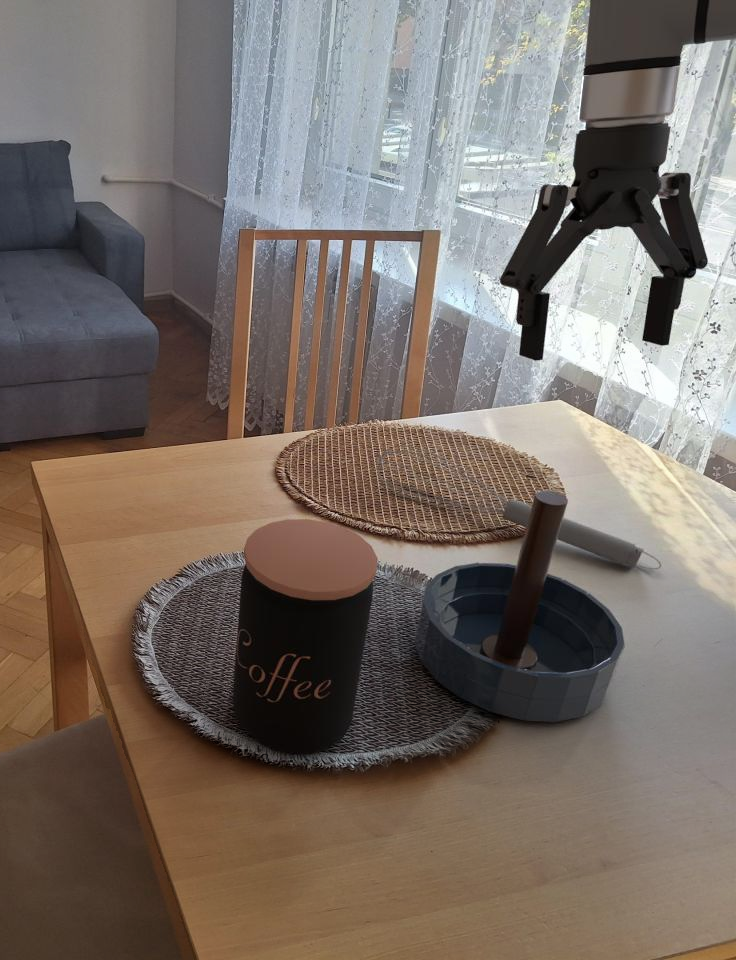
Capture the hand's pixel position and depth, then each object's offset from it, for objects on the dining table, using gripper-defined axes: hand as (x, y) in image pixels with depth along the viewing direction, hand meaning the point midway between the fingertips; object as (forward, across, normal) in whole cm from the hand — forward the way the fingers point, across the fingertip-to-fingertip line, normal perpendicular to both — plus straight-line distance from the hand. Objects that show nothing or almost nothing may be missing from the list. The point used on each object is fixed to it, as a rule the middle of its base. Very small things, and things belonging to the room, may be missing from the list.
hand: (593, 350), depth 87 cm
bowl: (+27, +14, +12) cm, 33 cm away
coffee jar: (+27, +37, +15) cm, 48 cm away
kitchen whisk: (+24, 0, -12) cm, 27 cm away
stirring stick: (+26, +14, +12) cm, 32 cm away
